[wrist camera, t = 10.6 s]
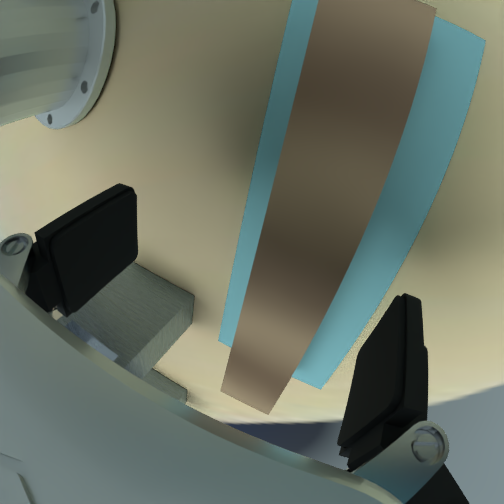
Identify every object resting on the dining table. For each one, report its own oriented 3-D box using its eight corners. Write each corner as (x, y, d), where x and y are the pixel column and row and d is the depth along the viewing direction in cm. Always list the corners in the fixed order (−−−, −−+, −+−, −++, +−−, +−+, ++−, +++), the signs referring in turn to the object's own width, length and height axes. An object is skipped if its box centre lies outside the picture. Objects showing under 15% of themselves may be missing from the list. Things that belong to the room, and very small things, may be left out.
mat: (301, -17, 9) (297, -21, 9) (481, 42, 7) (485, 40, 7) (222, 335, 22) (218, 340, 21) (323, 383, 20) (320, 389, 19)
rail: (345, 10, 9) (324, -24, 6) (423, 35, 8) (436, 8, 5) (248, 347, 20) (220, 391, 17) (291, 368, 19) (268, 414, 16)
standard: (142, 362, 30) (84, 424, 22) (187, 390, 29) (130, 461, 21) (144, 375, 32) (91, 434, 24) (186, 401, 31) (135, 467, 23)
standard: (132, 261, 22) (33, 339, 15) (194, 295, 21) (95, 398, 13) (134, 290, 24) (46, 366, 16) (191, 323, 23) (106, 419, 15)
